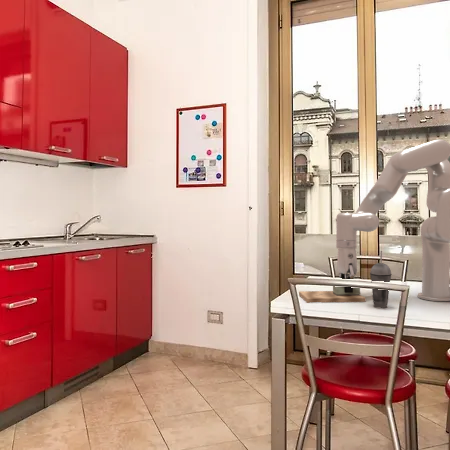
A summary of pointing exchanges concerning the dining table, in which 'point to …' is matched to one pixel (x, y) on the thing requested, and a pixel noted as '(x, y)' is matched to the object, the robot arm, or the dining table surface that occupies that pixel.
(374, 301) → the beverage cup
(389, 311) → the dining table surface
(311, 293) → the board
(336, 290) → the sanding block
